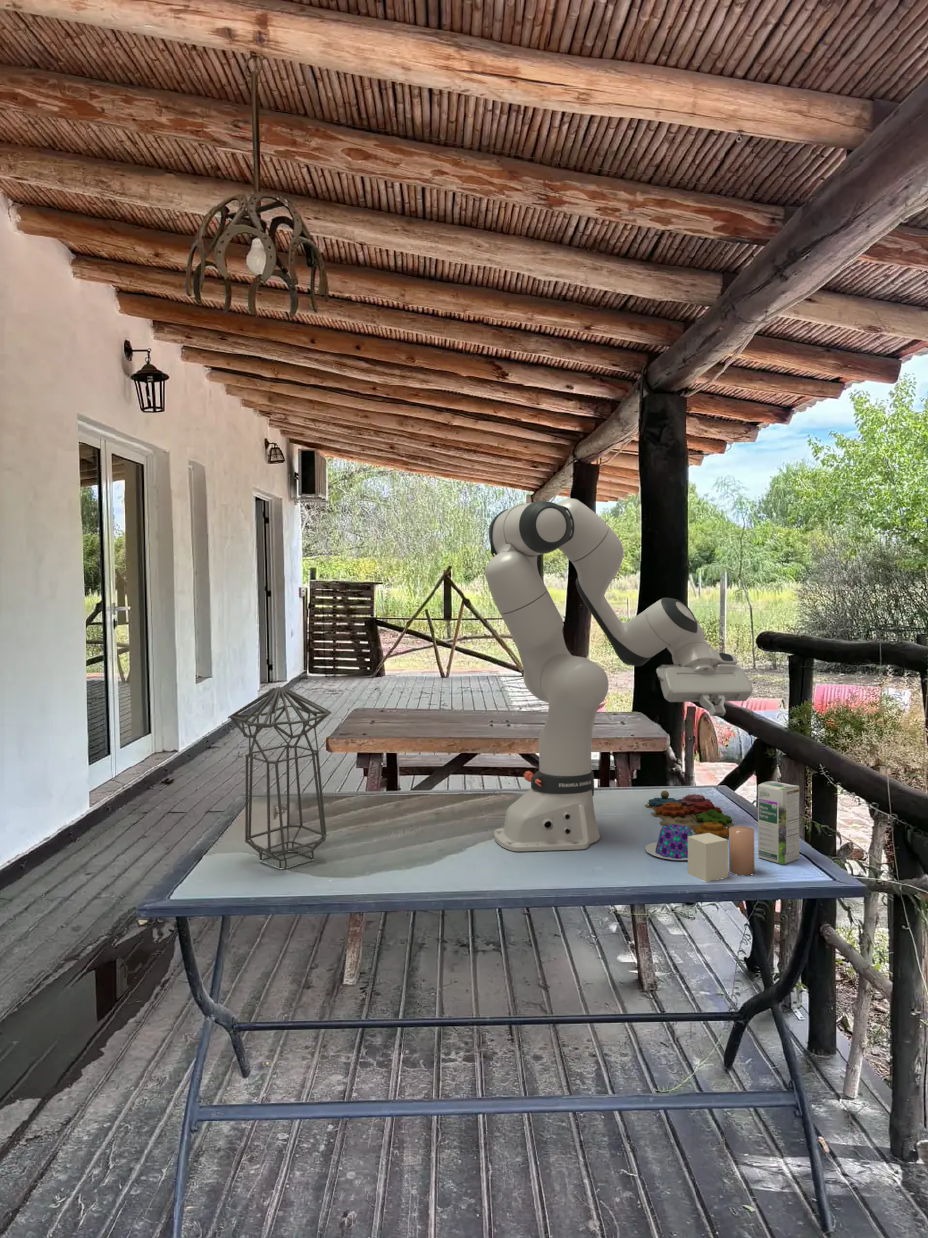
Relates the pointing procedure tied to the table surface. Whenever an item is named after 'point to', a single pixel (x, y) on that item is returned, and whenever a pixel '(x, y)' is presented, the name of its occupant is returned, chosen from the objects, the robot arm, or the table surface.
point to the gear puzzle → (691, 814)
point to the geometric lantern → (274, 695)
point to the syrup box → (778, 822)
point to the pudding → (671, 842)
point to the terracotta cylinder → (741, 850)
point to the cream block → (707, 857)
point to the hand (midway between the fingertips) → (718, 714)
